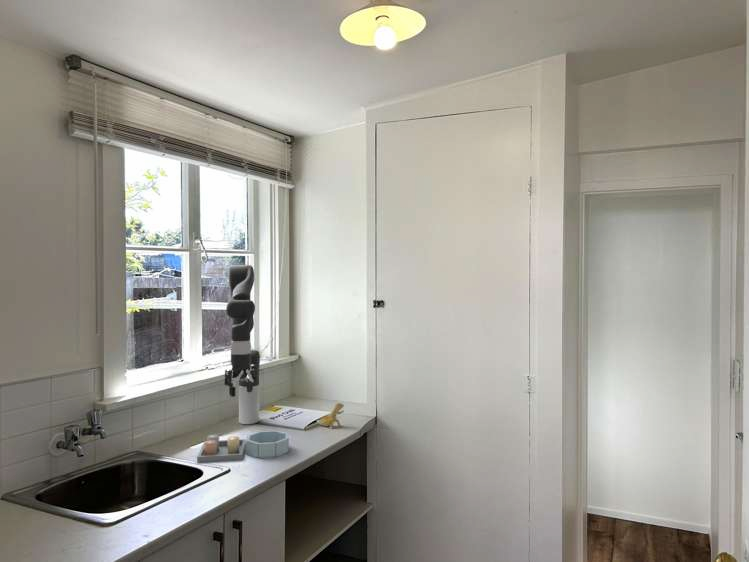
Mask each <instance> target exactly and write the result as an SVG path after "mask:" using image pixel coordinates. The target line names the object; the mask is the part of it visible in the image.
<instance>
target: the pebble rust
mask: <svg viewBox="0 0 749 562" xmlns="http://www.w3.org/2000/svg"><path fill="white" fill-rule="evenodd" d="M204 442H205V441H204ZM204 442H203V444H204V450H205V456H208V455H217V441H215V440H209V441H207V440H206V442H205V443H204Z"/></svg>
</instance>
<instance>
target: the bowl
mask: <svg viewBox="0 0 749 562" xmlns="http://www.w3.org/2000/svg"><path fill="white" fill-rule="evenodd" d="M289 435H290V434H289V433H288V432H285V431H281V430H276V429H274V430H260V431H256V432H253V433H250V434H248V435H247V436H246V446H245V453H246V455H248V456H250V457H253V458H260V459H266V458H267V459H268V458H275V457H276V458H277V457H281V456H283V455H285V454H287V453H288V452H289V451H290V446H289V445H290V444H289V439H290V437H289Z"/></svg>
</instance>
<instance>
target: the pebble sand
mask: <svg viewBox="0 0 749 562" xmlns="http://www.w3.org/2000/svg"><path fill="white" fill-rule="evenodd" d="M226 440H228V454H237V453H239V440H240V437H239V436H236V435H235V436H234V435H233V436H229V437H227V438H226Z"/></svg>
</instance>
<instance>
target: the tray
mask: <svg viewBox="0 0 749 562" xmlns="http://www.w3.org/2000/svg"><path fill="white" fill-rule="evenodd" d="M246 439H247V438H246ZM246 439H244V438H243V439H239V453H237V454H228V440H227V439H224V440H219V451H217V455H208V456H205V450H204V443H205V442H206V441H207V440H206V441H204V442H203V443H202V446H201V448H200V450H199V452H198V454H197V456H196V463H197V462H199V463H214V462H216V463H217V462H230V461H233V462H235V461H243V458H244V454H245V451H246Z"/></svg>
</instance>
